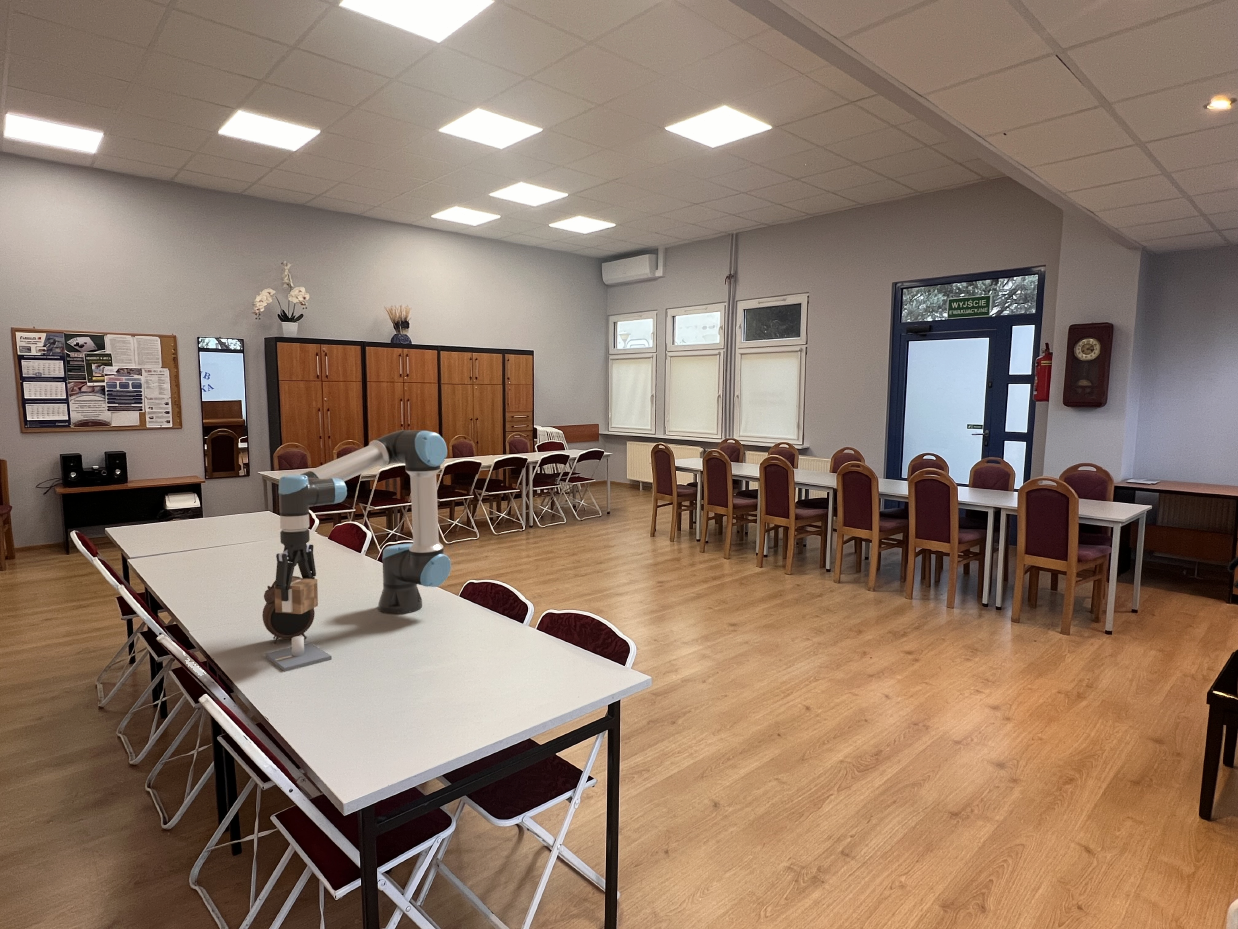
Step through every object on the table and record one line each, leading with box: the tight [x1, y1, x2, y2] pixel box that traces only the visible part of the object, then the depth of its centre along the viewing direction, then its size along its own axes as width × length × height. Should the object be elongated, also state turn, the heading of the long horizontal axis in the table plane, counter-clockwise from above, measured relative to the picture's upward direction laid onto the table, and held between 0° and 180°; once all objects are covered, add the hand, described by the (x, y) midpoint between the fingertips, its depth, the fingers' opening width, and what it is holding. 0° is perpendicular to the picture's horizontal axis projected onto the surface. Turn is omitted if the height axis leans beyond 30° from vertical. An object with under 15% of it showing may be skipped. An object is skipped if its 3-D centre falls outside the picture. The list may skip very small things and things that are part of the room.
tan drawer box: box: [275, 577, 319, 614], centre depth 196 cm, size 8×8×8 cm
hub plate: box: [264, 635, 333, 672], centre depth 197 cm, size 13×15×6 cm
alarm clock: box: [262, 575, 315, 644], centre depth 211 cm, size 14×7×20 cm, turn 126°
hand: (297, 606), depth 196 cm, fingers closed on tan drawer box, 8 cm apart
